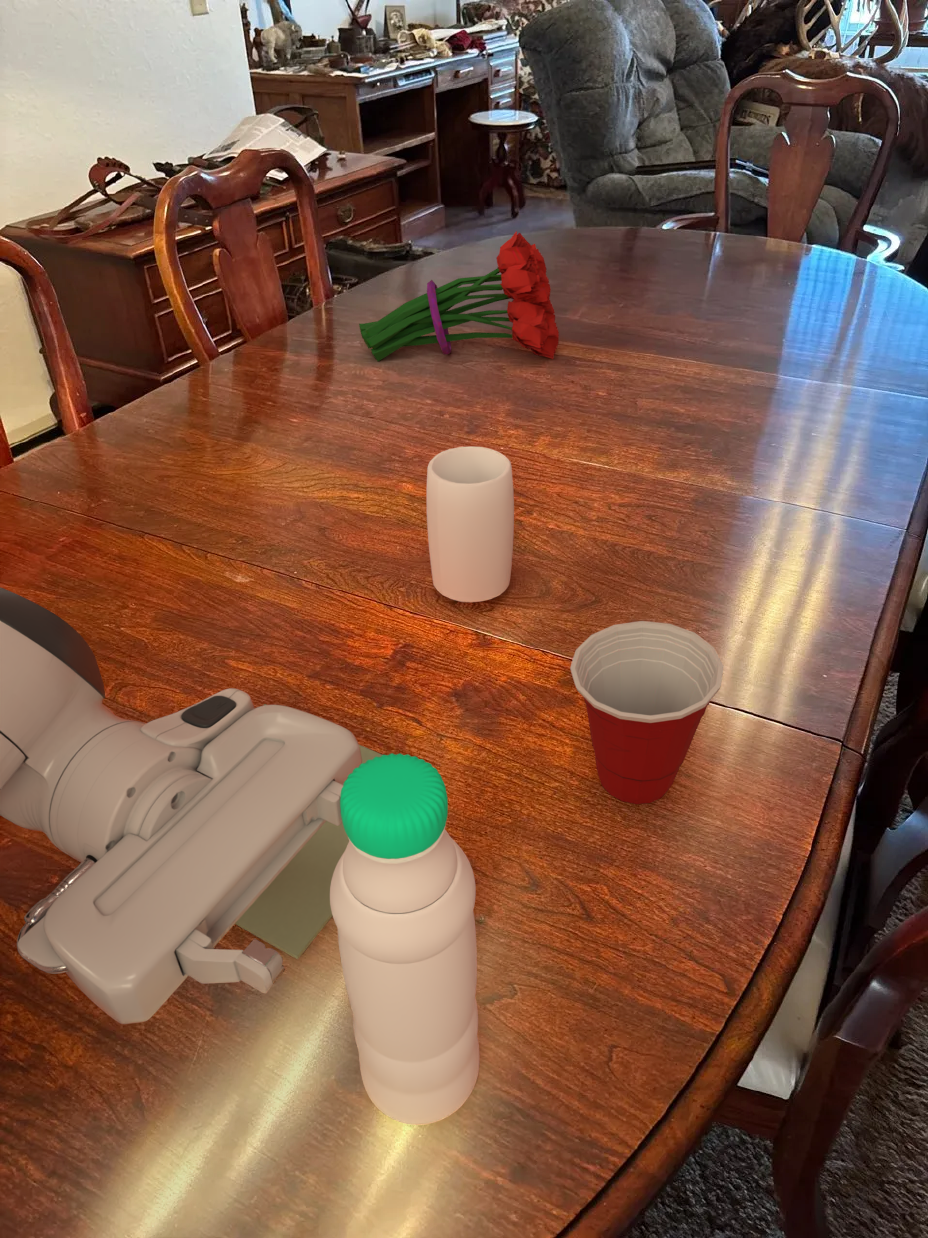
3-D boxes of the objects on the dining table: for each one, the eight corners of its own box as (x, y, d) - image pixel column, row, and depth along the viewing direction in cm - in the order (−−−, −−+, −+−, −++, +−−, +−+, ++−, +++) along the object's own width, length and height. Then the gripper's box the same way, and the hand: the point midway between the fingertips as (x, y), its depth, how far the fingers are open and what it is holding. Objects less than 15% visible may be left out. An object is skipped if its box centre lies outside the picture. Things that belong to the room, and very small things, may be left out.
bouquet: (379, 374, 154) (556, 331, 150) (374, 417, 141) (568, 371, 137) (342, 256, 142) (533, 206, 138) (333, 291, 129) (543, 236, 125)
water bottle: (361, 1136, 52) (306, 857, 37) (362, 1018, 58) (314, 733, 43) (485, 1124, 53) (481, 843, 37) (474, 1008, 58) (466, 722, 43)
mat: (297, 960, 61) (296, 956, 61) (107, 851, 69) (106, 848, 68) (440, 782, 73) (439, 779, 73) (265, 706, 81) (264, 703, 80)
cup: (530, 589, 94) (534, 464, 85) (470, 625, 89) (467, 497, 81) (473, 556, 99) (470, 435, 90) (413, 588, 94) (405, 464, 86)
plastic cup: (563, 725, 78) (570, 613, 71) (693, 732, 77) (714, 619, 70) (562, 826, 70) (570, 710, 62) (708, 835, 69) (733, 718, 61)
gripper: (-23, 904, 46) (180, 1038, 40) (249, 671, 60) (429, 745, 54) (17, 975, 50) (208, 1106, 44) (263, 740, 64) (433, 816, 58)
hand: (331, 905), depth 49 cm, fingers open, 8 cm apart
